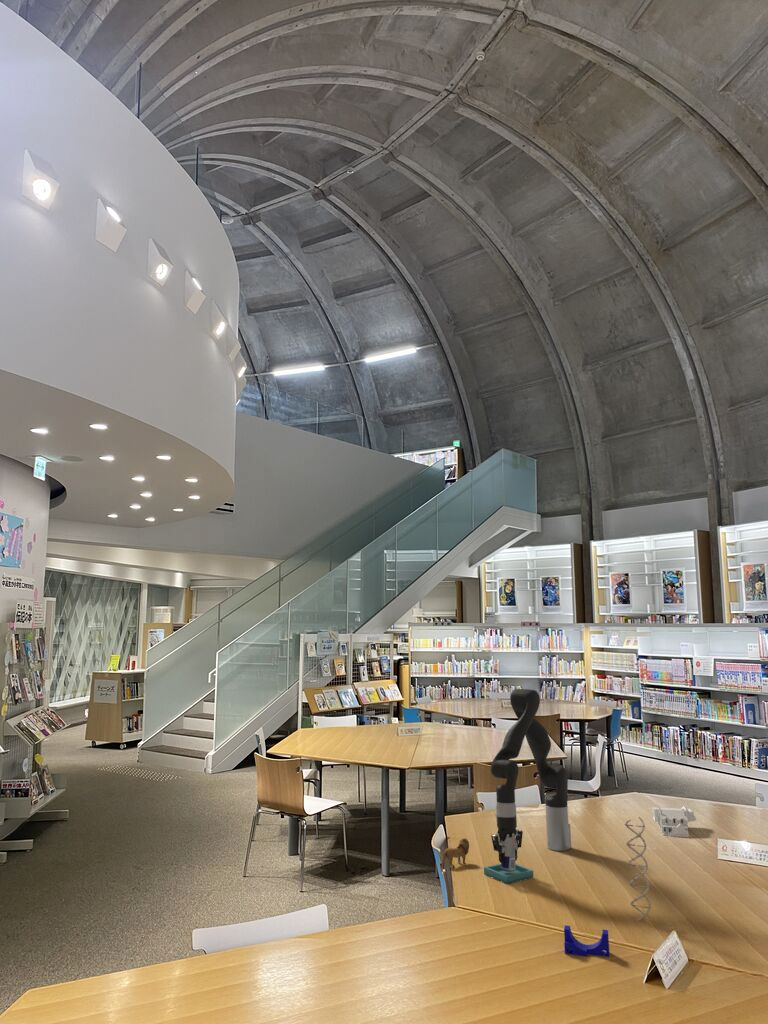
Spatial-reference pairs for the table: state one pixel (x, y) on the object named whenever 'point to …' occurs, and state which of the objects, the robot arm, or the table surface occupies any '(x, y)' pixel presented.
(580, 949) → the blue curved block
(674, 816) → the house model
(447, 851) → the lion figurine
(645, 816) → the table surface
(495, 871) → the tray
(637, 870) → the dna model
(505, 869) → the energy drink
